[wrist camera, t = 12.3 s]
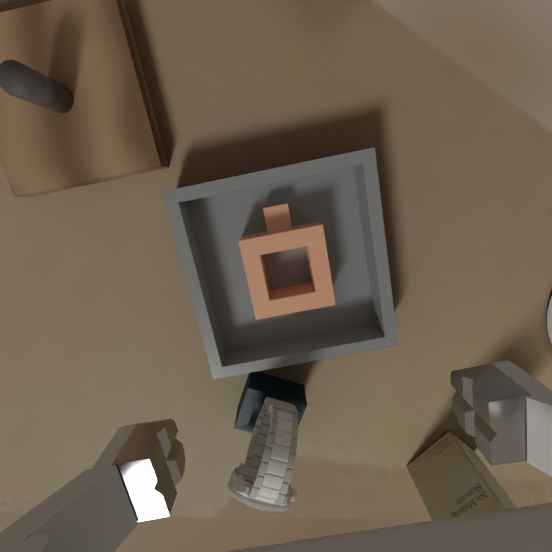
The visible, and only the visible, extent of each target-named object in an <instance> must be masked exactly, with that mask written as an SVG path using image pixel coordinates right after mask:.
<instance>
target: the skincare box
mask: <svg viewBox="0 0 552 552" xmlns="http://www.w3.org/2000/svg"><path fill="white" fill-rule="evenodd" d="M407 469H408V471H409V473H410V475H411V477H412V479H413V481H414V483H415V486H416V488H417V490H418V492H419V494H420V496H421V498H422V500H423V502H424V505H425V507H426V509H427V511H428V513H429V515H430V517H431V519H432V520H439V519H446V518H452V517H459V516H466V515H472V514H479V513H486V512H492V511H499V510H506V509H512V508H517V507H516V506H515V505H514V503H513V502H512V501H511V499H510V498H509V497H508V495H507V494H506V493H505V491H504V490H503V489H502V487H501V486H500V485H499V484H498V482H497V481H496V479H495V478H494V477H493V475H492V474H491V473H490V471H489V470H488V469H487V467H486V466H485V465H484V463H483V462H482V461H481V459H480V458H479V457H478V455H477V454H476V453H475V452H474V451H473V450H472V449H471V448H470V447H468V446H467V445H466V444H465V443H464V442H462V441H461V440H460V439H459V438H457V437H456V436H455V435H454V434H452V433H451V432H447V433H446V434H445V435H444V436H443V437H441V438H440V439H439V440H438V441H436V442H435V443H434V444H433V445H432V446H430V447H429V448H428V449H427V450H425V451H424V452H423V453H422V454H421V455H419V456H418V457H417V458H416V459H415V460H413V461H412V462H411V463H410V464H409V465H408V466H407Z"/></svg>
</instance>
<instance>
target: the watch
mask: <svg viewBox="0 0 552 552" xmlns="http://www.w3.org/2000/svg"><path fill="white" fill-rule="evenodd" d="M306 406H307V402H306V395H305V389H304V385H302V384H299V383H295V382H292V381H288V380H285V379H281V378H278V377H274V376H271V375H267V374H264V373H260V372H251V373H249V375H248V378H247V381H246V384H245V387H244V390H243V393H242V396H241V399H240V402H239V405H238V409H237V415H236V421H235V427H234V428H236V429H240V430H244V431H248V432H251V433H252V437H251V440H250V443H249V448H248V452H247V456H246V461H245V465H244V463H241V464H240V465H239V467H238V468H236V469H234V471H233V472H232V475H231V478H230V482H229V483H228V486H227V490H228V492H229V493H230V494H231V495H232V496H233V497H234V498H236V499H237V500H239V501H240V502H242V503H244V504H246V505H249V506H251V507H254V508H257V509H260V510H265V511H271V512H282V511H286V510H287V509H288V508H289V505H290V501H295V499H296V495H297V491H296V490H295V489H291V486H290V485H289V483H290V481H291V477H292V472H293V468H294V463H295V457H296V455H295V454H296V448H297V436H298V426H299V423H300V421H301V418H302V416H303V413H304V411H305V408H306ZM255 436H256V437H255ZM255 444H257V445H255ZM276 444H278V445H276ZM259 445H261V446H259ZM280 445H282V446H280ZM263 446H264V447H263ZM284 446H286V447H284ZM250 447H252V448H250ZM288 447H290V448H288ZM291 453H293V454H291ZM254 456H255V457H254ZM258 457H259V458H258ZM275 459H276V460H275ZM278 460H280V461H278ZM282 461H283V462H282ZM286 462H287V463H286ZM289 500H290V501H289Z"/></svg>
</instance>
